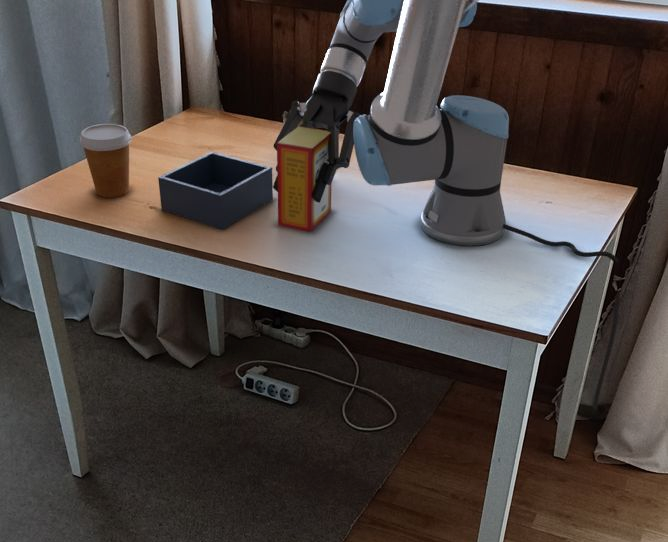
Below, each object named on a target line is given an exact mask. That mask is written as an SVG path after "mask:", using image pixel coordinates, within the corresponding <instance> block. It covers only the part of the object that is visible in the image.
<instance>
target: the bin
mask: <svg viewBox="0 0 668 542" xmlns="http://www.w3.org/2000/svg"><path fill="white" fill-rule="evenodd" d="M157 179H158V190H159V198H160V207H161V208H160V209H161V211H163V212H166V213H169V214H173V215H175V216H179V217H182V218H185V219H188V220H192V221H195V222H197V223H201V224H205V225H207V226H210V227H214V228H215V229H216V228H217V229H220V230H224V229H227V228H228V227H230V226H232V225H233V224H235V223H236V222H238V221H240V220H242V219H243V218H245V217H247V216H248V215H250V214H251V213H253V212H255V211H257V210H258V209H260V208H261V207H264V206H265V205H267V204H268V203H270V202H272V201H273V200H274V191H273V189H274V188H273V185H274V183H273V167H271V166H267V165H264V164H260V163H257V162H253V161H249V160H245V159H241V158H238V157H235V156H230V155H226V154H223V153H219V152H215V151H210V152H207V153H205V154H202V155H201V156H199V157H196V158H195V159H193V160H191V161H189V162H187V163H185V164H183V165H180V166H179V167H177V168H174V169H172V170H170V171H168V172H166V173H164V174H161V175H159V176H158V177H157Z"/></svg>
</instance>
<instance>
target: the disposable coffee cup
mask: <svg viewBox="0 0 668 542" xmlns="http://www.w3.org/2000/svg"><path fill="white" fill-rule="evenodd" d="M131 140H132V135H131V133H130V132H129V130H128V128H127V127H126V126H124V125H121V124H117V123H100V124H99V123H98V124H94V125H90V126H87V127H85V128H84V129H82V130H81V132H80V136H79V142H80V144H81V146H82V147H83V152H84V154H85V158H86V161H87V165H88V168H89V172H90V176H91V179H92V182H93V186H94V189H95V193H96V194H97V195H98V196H100V197H102V198H103V197H104V198H117V197H122V196H124V195H126V194H128V193H129V192H130V143H131Z"/></svg>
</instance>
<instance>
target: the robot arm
mask: <svg viewBox="0 0 668 542" xmlns="http://www.w3.org/2000/svg"><path fill="white" fill-rule="evenodd" d="M479 1H480V0H346V3H345V4H344V7H343V9H342V11H341V12H340V15H339V20H338V22H337V25H336V28H335V31H334V33H333V36H332V39H331V42H330V45H329V47H328V49H327V52H326V53H325V57H324V60H323V62H322V65H321V67H320V73H318V75H317V78H316V81H315V83H314V86H313V89H312V93H311V96H310V97H309V99H308V100H307V101H306V102H299V101H298V100H296V99H295V100H293V101H292V102H291V107H290V110H291V112H290V114H289V116H288V118H287V120H286V122H285V124H284V123H283V125H282V127H281V129H280V132H279V133H278V136H277V138H276V139H275V141H274V143H273V148H274V150H275V151H276V152H277V143H278V142H279V141H280V140H281V139H283V138H284V137H285V136H286V135H288V134H289V133H291V132H292V131H293V130H295V129H296V128H297V126H298V124H299V122H300V120H301V116H303V115H304V112H305V111H306V110H307V113H308V114H307V116H306V117H305V118H304V119H303V123H302V124H301V127H309V128H315V129H325V130H327V131H328V132H331V135H330V138H329V141H328V159H327V161H328V162H329V164H327V163H324V162H323V165H322V168H321V170H320V173H319V176H318V178H317V181H316V184H315V187H314V189H313V192H312V195H311V196H312V198H313V199H314V200H315V201H316V202H319V203H320V201H321V198H322V196H323V193H324V190H325V187H326V185H330V184H331V183H332V184H333V180H334V178H335V175H336V173H337V170H338V169H341V168H343V169H348V168H349V166H350V162H351V160H352V159H351V158H352V155H353V150H354V152H355V158H356V162H357V165H358V168H359V171H360V174H361V176H362V177H363V180H364V181H365V182H366V183H367V184H369V185H370V186H388V187H390V186H393V185H403V184H411V183H419V182H427V181H434V184H433V188H432V190H431V192H430V194H429V197H428V199H427V201H426V203H425V206H424V208H423V210H422V212H421V219H420V227H421V230H422V231H423V232H424V233H425V234H426V235H427V236H429V237H430V238H432V239H435V240H437V241H440V242H442V243H446V244H450V245H455V246H467V247H468V246H469V247H470V246H471V247H472V246H482V245H483V246H484V245H488V244H491V243H494V242H496V241H498V240H500V239H501V238H502V237H503V236H504V234H505V232H506V231H509V232H512V233H515V234H517V235H520V236H522V237H526V238H529V239H530V240H532V241H535V242H538V243H539V244H542V245H545V246H549V247H567V248H569V249H570V250H571V251H572V253H573V254H575V255H576V256H578V257H581V258H582V257H583V258H593V257H594V258H595V257H606V258H608V259H609V260H611V261H612V262H614V263H619V262H620V260H619V259H618V258H617V257H616V256H615V255H614V254H613V253H612V252H608V251H605V250H604V251H603V250H599V251H588V252H586V251H580V250H578V249H577V247H576V246H575V245H574V244H573V243H572V242H569V241H564V240H563V241H551V240H548V239H544V238H541V237H539V236H537V235H535V234H533V233H530V232H528V231H525V230H522V229H519V228H516V227H514V226H511V225H509V224H506V223H507V221H506V213H505V210H504V204H503V199H502V195H501V186H502V177H503V172H504V171H503V170H504V163H505V159H506V158H505V156H506V150H507V143H508V139H509V136H510V135H509V124H510V116H509V114H508V112H507V111H506V109H505V108H504V107H503V106H501V105H500V104H497V103H495V102H493V101H490V100H488V99H485V98H481V97H476V96H470V95H456V94H455V95H448V96H447V97H444V98H443V99H442V101H441V103H440V108H439V107H438V105H437V104H438V102H439V101H438V100H439V98H440V94H441V91H442V87H443V83H444V80H445V76H446V72H447V69H448V65H449V62H450V58H451V56H452V52H453V48H454V45H455V42H456V37H457V34H458V30H459V28H464V27H467V26H469V25H470V24H471V23H472V22H473V20H474V17H475V16H476V14H477V10H478V9H477V8H478V2H479ZM391 32H392V33H393V32H396V35H395V39H394V44H393V48H392V49H393V50H392V53H391V58H390V62H389V66H388V70H387V71H388V72H387V75H386V80H385V85H384V90H383V92H381V93H379V94H378V95H377V96H376V97H375V98H374V99H373V101H372V102H371V106H370V110H369V114H360V113H359V111H352V110H351V106H352V105H353V103H354V99H355V97H356V94H357V92H358V86H360V83H361V80H362V78H363V75H364V72H365V69H366V67H367V64H368V61H369V58H370V56H371V53H372V51H373V48H374V45H375V44H376V42H377V41H378V39H379V38H380V37H381V36H382V35H383V33H391ZM345 121H346V122H347V123H346V126H345V130H344V136H343V139H342V143H341V146H340V140H339V139H340V124H342V123H343V122H345ZM311 122H312V123H311ZM340 147H341V148H340ZM275 172H277V165H276V166H275ZM273 182H274V183H273V189H274V191H276V192H277V193H278V182H277V176H275V180H274V181H273ZM505 230H506V231H505ZM620 301H621V289H619V290H618V291H617V293H616V294H615V296H614V306H613V307H614V309H613V317H612V322H611V323H612V324H611V330H610V334H609V340H608V343H607V348H606V352H605V356H604V360H603V363H602V366H601V370H600V374H599V377H598V381H597V386H596V389H595V393H594V398H593V403H592V409H593V410H597V408H598V404H599V399H600V395H601V390H602V387H603V383H604V379H605V375H606V371H607V368H608V365H609V361H610V358H611V353H612V350H613V346H614V341H615V336H616V332H617V327H618V326H617V325H618V320H619V313H620Z"/></svg>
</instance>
